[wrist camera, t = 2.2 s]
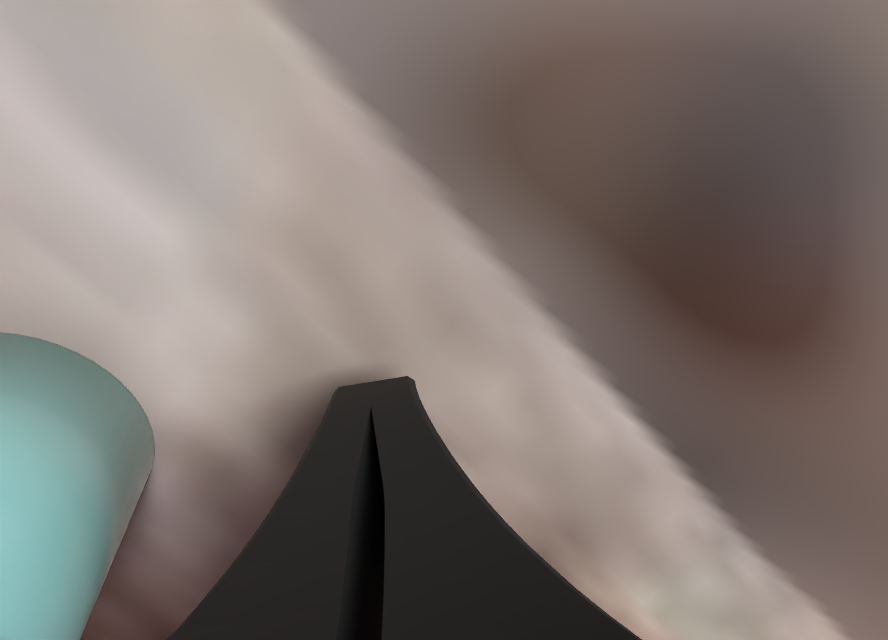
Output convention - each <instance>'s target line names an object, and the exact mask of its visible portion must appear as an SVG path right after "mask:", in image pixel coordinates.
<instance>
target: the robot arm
mask: <svg viewBox="0 0 888 640" xmlns="http://www.w3.org/2000/svg"><path fill="white" fill-rule="evenodd" d="M167 640H642V639H640V638H639V637H638V636H636V635H635V634H634V633H632V632H631V631H630V630H628V629H627V628H626V627H624V626H623V625H622V624H620V623H619V622H618V621H616V620H615V619H613V618H612V617H611V616H609V615H608V614H607V613H606V612H604V611H603V610H602V609H601V608H600V607H598V606H597V605H596V604H595V603H593V602H592V601H591V600H590V599H588V598H587V597H586V596H585V595H583V594H582V593H581V592H580V591H578V590H577V589H576V588H575V587H574V586H573V585H571V584H570V583H569V582H568V581H567V580H566V579H565V578H564V577H563V576H561V575H560V574H559V573H558V572H557V571H556V570H555V569H554V568H553V567H552V566H550V565H549V564H548V563H547V562H546V561H545V560H544V559H543V558H542V557H540V556H539V555H538V554H537V553H536V552H535V551H534V550H533V549H532V548H531V547H530V546H529V545H527V543H526V542H525V541H524V540H523V539H522V538H521V537H520V536H519V535H518V534H517V533H516V532H515V531H514V530H513V529H512V528H511V527H510V526H509V525H508V524H507V523H506V522H505V521H504V520H503V518H502V517H501V516H500V515H499V514H498V513H497V512H496V511H495V510H494V509H493V507H492V506H491V505H490V504H489V503H488V502H487V500H486V499H485V498H484V497H483V496H482V494H481V493H480V492H479V491H478V489H477V488H476V487H475V486H474V485H473V483H472V482H471V481H470V479H469V478H468V477H467V475H466V474H465V473H464V471H463V470H462V469H461V467H460V466H459V465H458V463H457V462H456V460H455V459H454V457H453V456H452V455H451V453H450V451H449V450H448V448H447V447H446V445H445V444H444V442H443V441H442V439H441V437H440V436H439V434H438V433H437V431H436V429H435V428H434V426H433V424H432V422H431V421H430V419H429V417H428V415H427V413H426V411H425V409H424V407H423V405H422V402H421V400H420V398H419V395H418V392H417V389H416V385H415V381H414V380H413V379H411V378H410V377H408V376H405V377H399V378H393V379H386V380H380V381H374V382H368V383H362V384H356V385H349V386H343V387H338V389H337V390H336V391H335V392H334V394H333V396H332V398H331V401H330V403H329V405H328V408H327V410H326V412H325V414H324V416H323V419H322V421H321V423H320V425H319V427H318V429H317V431H316V433H315V435H314V437H313V439H312V441H311V443H310V445H309V446H308V448H307V450H306V452H305V454H304V456H303V457H302V459H301V461H300V463H299V465H298V466H297V468H296V470H295V472H294V474H293V475H292V477H291V479H290V480H289V482H288V484H287V485H286V487H285V488H284V490H283V492H282V493H281V495H280V496H279V498H278V500H277V501H276V503H275V504H274V506H273V507H272V509H271V511H270V512H269V514H268V515H267V517H266V518H265V520H264V521H263V523H262V524H261V526H260V527H259V529H258V530H257V531H256V533H255V534H254V536H253V537H252V538H251V540H250V541H249V543H248V544H247V545H246V547H245V548H244V549H243V551H242V552H241V553H240V555H239V556H238V557H237V559H236V560H235V561H234V563H233V564H232V565H231V566H230V568H229V569H228V570H227V572H226V573H225V574H224V575H223V576H222V578H221V579H220V580H219V581H218V582H217V584H216V585H215V586H214V587H213V588H212V590H211V591H210V592H209V593H208V594H207V596H206V597H205V598H204V599H203V600H202V602H201V603H200V604H199V605H198V606H197V608H196V609H195V610H194V611H193V612H192V613H191V614H190V615H189V617H188V618H187V619H186V620H185V621H184V622H183V623H182V624H181V626H180V627H179V628H178V629H177V630H176V631H175V632H174V633H173V634H172V635H171V636H170V637H169V638H168V639H167Z"/></svg>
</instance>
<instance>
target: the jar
mask: <svg viewBox="0 0 888 640" xmlns="http://www.w3.org/2000/svg"><path fill="white" fill-rule="evenodd" d="M154 456H155V442H154V436H153V431H152V428H151V425H150V423H149V420H148V417H147V416H146V414H145V412H144V410H143V408H142V407H141V405H140V404H139V402H138V401H137V400H136V398H135V397H134V396H133V394H132V393H131V392H130V391H129V390H128V389H127V388H126V387H125V386H124V385H123V384H122V383H121V382H120V381H119V380H118V379H117V378H115V377H114V376H113V375H112V374H111V373H109V372H108V371H107V370H105V369H104V368H102V367H101V366H99V365H98V364H96V363H95V362H93V361H92V360H90V359H88V358H86V357H84V356H82V355H80V354H79V353H77V352H75V351H72V350H70V349H67V348H65V347H62V346H60V345H58V344H54V343H51V342H48V341H45V340H41V339H38V338H33V337H28V336H23V335H19V334H10V333H0V640H80V639H81V636H82V634H83V631H84V629H85V627H86V624H87V622H88V620H89V617H90V615H91V612H92V610H93V608H94V605H95V603H96V601H97V598H98V596H99V593H100V591H101V589H102V586H103V584H104V581H105V579H106V577H107V574H108V572H109V570H110V567H111V565H112V562H113V560H114V558H115V555H116V553H117V551H118V548H119V546H120V543H121V541H122V539H123V536H124V534H125V532H126V529H127V527H128V524H129V522H130V520H131V517H132V515H133V513H134V510H135V508H136V505H137V503H138V501H139V498H140V496H141V494H142V491H143V489H144V486H145V484H146V482H147V479H148V477H149V474H150V472H151V469H152V466H153V462H154Z"/></svg>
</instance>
